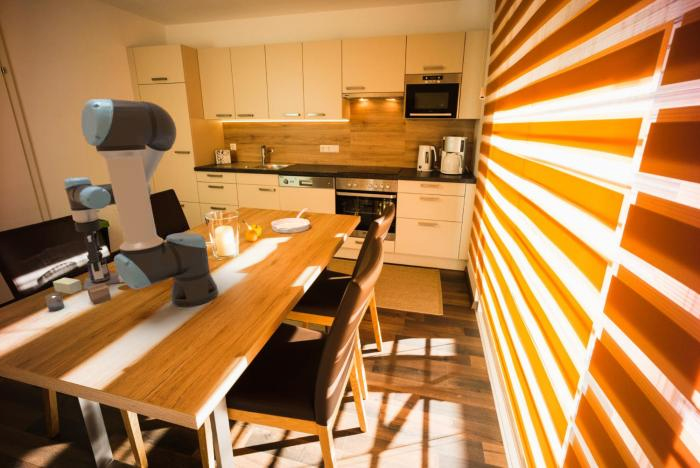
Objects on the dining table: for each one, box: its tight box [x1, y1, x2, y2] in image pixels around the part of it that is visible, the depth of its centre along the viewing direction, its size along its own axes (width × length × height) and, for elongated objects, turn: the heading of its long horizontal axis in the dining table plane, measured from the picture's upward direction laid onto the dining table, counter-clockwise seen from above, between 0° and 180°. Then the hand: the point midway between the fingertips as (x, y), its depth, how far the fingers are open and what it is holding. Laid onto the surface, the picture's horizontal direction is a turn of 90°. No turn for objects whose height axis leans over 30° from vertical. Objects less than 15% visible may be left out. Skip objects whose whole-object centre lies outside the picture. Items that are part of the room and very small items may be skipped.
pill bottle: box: [86, 251, 111, 283], centre depth 129 cm, size 6×6×11 cm
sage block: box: [52, 277, 83, 295], centre depth 124 cm, size 8×4×4 cm, turn 74°
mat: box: [82, 271, 120, 291], centre depth 131 cm, size 11×11×1 cm
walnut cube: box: [86, 283, 112, 306], centre depth 117 cm, size 5×5×5 cm
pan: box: [270, 207, 311, 234], centre depth 209 cm, size 24×43×6 cm, turn 169°
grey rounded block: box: [44, 292, 65, 313], centre depth 111 cm, size 4×4×5 cm
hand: (99, 272), depth 130 cm, fingers open, 13 cm apart
